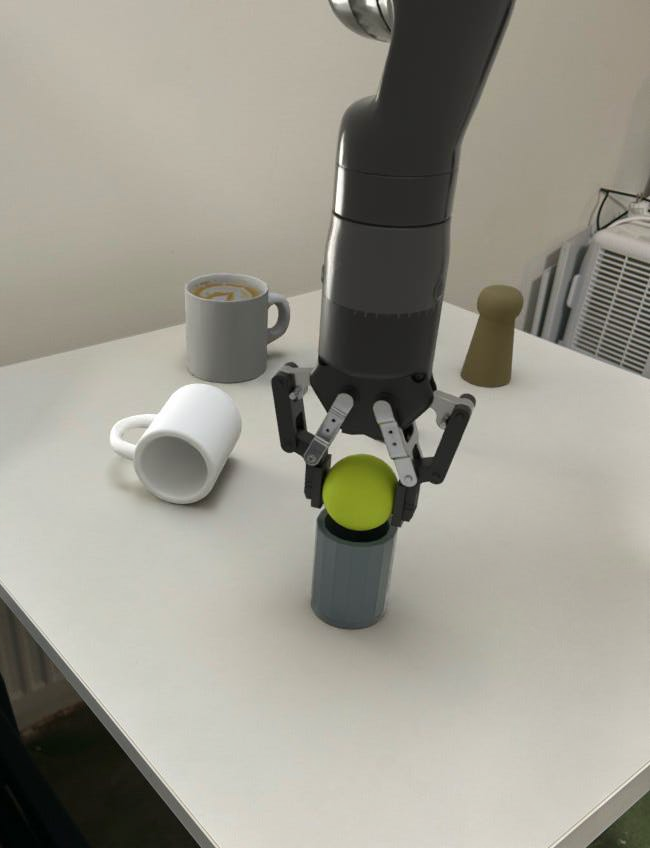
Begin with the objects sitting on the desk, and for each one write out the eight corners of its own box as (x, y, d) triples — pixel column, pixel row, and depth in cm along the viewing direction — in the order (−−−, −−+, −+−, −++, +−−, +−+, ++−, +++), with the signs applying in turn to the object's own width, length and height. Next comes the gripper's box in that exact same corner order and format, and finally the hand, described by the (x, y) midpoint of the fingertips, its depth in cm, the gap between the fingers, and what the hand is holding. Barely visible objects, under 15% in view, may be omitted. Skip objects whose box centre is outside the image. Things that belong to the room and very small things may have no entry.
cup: (393, 591, 68) (405, 511, 63) (374, 637, 63) (385, 554, 59) (324, 573, 70) (331, 494, 65) (300, 617, 65) (306, 535, 60)
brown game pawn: (510, 368, 103) (528, 281, 97) (511, 389, 99) (531, 299, 92) (461, 363, 104) (476, 277, 98) (459, 384, 100) (475, 294, 93)
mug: (242, 458, 85) (242, 387, 80) (215, 510, 77) (214, 435, 72) (132, 443, 87) (126, 373, 83) (96, 492, 79) (87, 418, 75)
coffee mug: (196, 386, 98) (193, 304, 92) (180, 353, 106) (177, 276, 100) (302, 375, 101) (307, 295, 95) (280, 344, 109) (283, 268, 103)
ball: (402, 512, 63) (412, 449, 60) (383, 553, 59) (392, 487, 56) (333, 496, 65) (338, 433, 62) (309, 534, 61) (314, 469, 57)
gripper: (509, 284, 52) (464, 507, 62) (294, 255, 56) (285, 467, 66) (490, 326, 46) (444, 564, 56) (253, 289, 51) (249, 516, 61)
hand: (358, 510), depth 61 cm, fingers closed on ball, 5 cm apart
